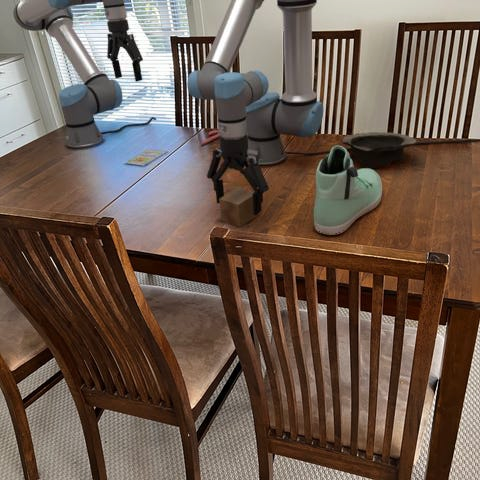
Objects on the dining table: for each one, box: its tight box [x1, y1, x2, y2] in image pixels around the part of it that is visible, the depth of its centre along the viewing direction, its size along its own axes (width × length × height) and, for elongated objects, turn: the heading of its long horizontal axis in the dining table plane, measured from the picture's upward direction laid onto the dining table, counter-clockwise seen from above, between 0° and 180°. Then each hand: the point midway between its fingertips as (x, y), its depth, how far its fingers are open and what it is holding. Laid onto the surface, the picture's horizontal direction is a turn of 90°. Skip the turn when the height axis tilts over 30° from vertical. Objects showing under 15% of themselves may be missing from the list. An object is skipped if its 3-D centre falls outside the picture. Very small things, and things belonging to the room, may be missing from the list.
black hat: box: [341, 131, 418, 169], centre depth 166 cm, size 25×25×9 cm
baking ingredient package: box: [124, 149, 166, 166], centre depth 185 cm, size 9×1×15 cm
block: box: [219, 187, 259, 228], centre depth 137 cm, size 7×8×7 cm
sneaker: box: [313, 145, 383, 236], centre depth 133 cm, size 14×35×20 cm, turn 152°
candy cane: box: [200, 129, 220, 146], centre depth 198 cm, size 6×15×2 cm, turn 145°
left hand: (128, 79), depth 187 cm, fingers open, 13 cm apart
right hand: (238, 207), depth 137 cm, fingers open, 13 cm apart
